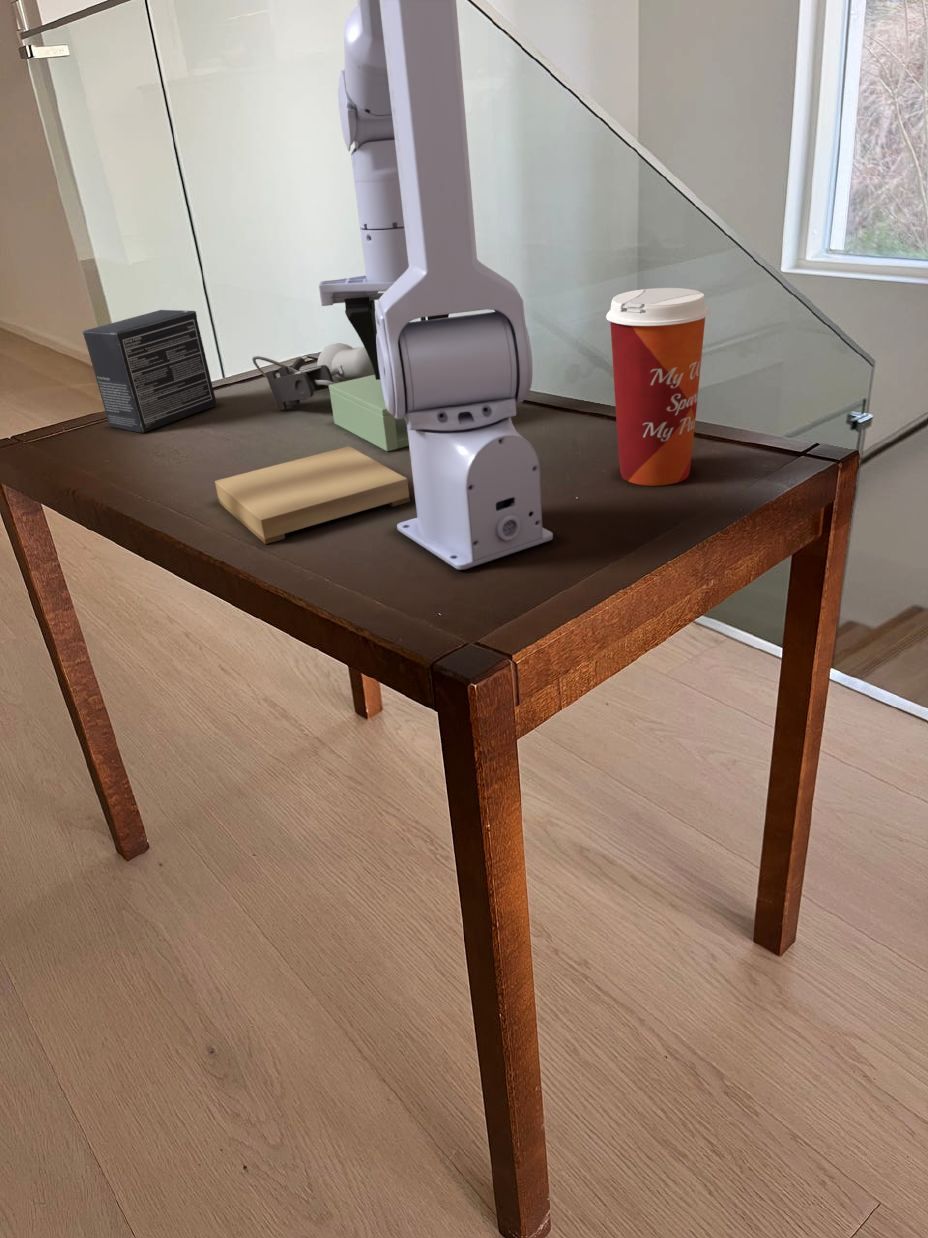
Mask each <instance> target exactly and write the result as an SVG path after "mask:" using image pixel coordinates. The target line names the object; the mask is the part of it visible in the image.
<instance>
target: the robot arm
mask: <svg viewBox="0 0 928 1238" xmlns="http://www.w3.org/2000/svg"><path fill="white" fill-rule="evenodd" d="M357 5H358V6H356V7H354V8H353V10H351V12H350V13H349V14H348V15H347V17H346V20H345V23H344V27H343V56H344V58H343V59H344V69H343V70H340V75H338V76H339V77H338V88H337V102H338V112H339V119H340V120H339V121H340V126H341V132H342V137H343V141H344V144H345V147H346V150H347V152H351V153H350V158H351V166H352V174H353V183H354V190H355V198H356V207H357V214H358V222H359V229H360V239H361V245H362V246H361V247H362V255H363V263H364V270H365V275H360V276H353V277H346V278H345V277H344V278H338V279H331V280H321V281H320V282H319V284H318V290H319V296H320V297H319V298H320V304H321V307H327V306H328V307H329V306H333V305H334V304H344V305H345V306H344V307H345V310H344V313H345V316H346V318H347V320H348V321H349V323H350V324H351V326H352V328H353V329H354V331H355V333H356V334H357V335H358V338H359V339H360V341H361V343H362V345H363V347H365V349H366V351H367V354H368V356H369V359H370V361H371V364H372V367H373V370H374V374H375V378H376V380H381V386H382V391H383V396H384V401H385V405H386V408H387V411H388V412H389V413H390V414H392V415H394V417H395V418H396V419H405V421H406V423H407V431H408V440H409V446H408V447H409V448H408V449H409V456H410V465H411V474H412V483H413V492H414V500H415V509H416V517H413V518H411V519H408V520H404V521H401V522H399V523H397V524H396V530H397V531H398V532H400V533H402V534H403V535H404V536H405V537H407V538H409V539H411V540H412V541H413V542H415V543H416V544H418V545H420V546H421V547H422V548H424V549H426V550H427V551H428V552H430V553H431V554H433V555H434V556H436V557H438V558H439V559H440V560H442V561H444V562H445V563H446V564H448V565H450V566H451V567H453V568H454V569H456V570H458V571H465V570H468V569H471V568H474V567H477V566H479V565H483V564H486V563H488V562H491V561H494V560H497V559H500V558H503V557H506V556H509V555H512V554H515V553H518V552H521V551H523V550H527V549H529V548H532V547H535V546H539V545H542V544H545V543H548V542H550V541H552V540H553V539H554V533H553V532H552V531H550V530H548V529H547V528H544V527H543V511H542V510H543V509H542V490H541V489H542V488H541V468H540V460H539V456H538V454H537V452H536V449H535V448H534V447H533V445H532V444H531V443H530V442H529V441H528V440H527V439H526V438H524V437H523V436H522V435H521V434H520V433H519V432H518V431H517V430H516V427H515V426H514V424H513V420H512V417H516V416H517V406H516V405H517V404H521V403H523V402H524V400H526V397H527V395H528V394H529V393H530V391H531V388H532V385H533V354H532V346H531V341H530V335H529V331H528V328H527V327H528V326H527V324H526V323H527V322H526V317H525V316H526V315H525V307H524V306H525V305H524V299H523V298H522V296H521V294H520V292H519V291H518V289H517V287H516V285H514V284H513V283H512V282H511V281H510V280H508V279H507V278H505V277H503V276H502V275H501V274H499V273H498V272H496V271H494V270H493V269H491V268H489V267H488V266H486V265H485V264H484V263H482V262H481V261H480V260H479V259H478V254H477V242H476V241H477V240H476V230H475V229H476V227H475V217H474V204H473V190H472V181H471V180H472V179H471V168H470V167H471V166H470V155H469V141H468V129H467V119H466V117H467V116H466V107H465V106H466V104H465V93H464V92H465V91H464V82H463V81H464V79H463V70H462V67H463V66H462V56H461V44H460V32H459V31H460V30H459V19H458V8H457V0H357ZM353 144H354V148H353V150H352V151H351V147H352V145H353ZM376 301H377V305H376ZM485 310H486V311H487V310H490V312H482V313H476V314H475V313H473V314H466V315H465V314H464V315H456V316H450V315H453V314H460V313H468V312H469V313H470V312H477V311H485ZM421 318H426V319H425V320H418V321H417V319H421ZM414 320H416V321H414Z"/></svg>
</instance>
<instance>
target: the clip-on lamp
mask: <svg viewBox="0 0 928 1238" xmlns="http://www.w3.org/2000/svg"><path fill="white" fill-rule="evenodd" d="M307 359H308V356H307V355H305V356H302V357H299V358H297V359H296V360H295V361H294V362H293V364H292V365H291V366H289V365H286V364H284V363H282V362H279V361H278V360H277V361H276V360H274V359H271V358H268V357H265V356H261V355H254V356H253V357H252V358H251V360H252V363H253V365H254V366H255V367H256V369H257V370H258V371H259V372H260V374H262V376H264V377H265V378H266V379H267V382H268V384H269V387H270V390H271V394H272V396H273V398H274V401H275V404H276V407H277V409H278V411H280V412H281V411H285V410H287V409H288V404H287V402H289V404H290V406H297V405H300V404H301V401H300V400H303V399H304V400H305V399H310V398H313V396H314V394H318V393H322V392H325V391H330V390H329V385H331V384H336V383H340V382H345V381H349V380H353V379H358V378H362V377H367V376H371V375H375V374H374V370H373V367H372V364H371V361H370V359H369V356H368V354H367V351H366V349H365V347H364V346H360V347H352V346H351V345H349V344H347V343H342V342H336V343H332V344H330V345H327V346H325V347H324V349H323V350H322V351H321V352H320V353H319V356H318V358H317V363H316V366H313V367H309V368H306V369H304V368H302V367H303V366H304V364H305V363H306V360H307ZM256 360H260V361H265V362H266V363H267V362H268V363H269V364H273V365H275V366H277V367H278V369H277V371H278V374H279V377H278V376H277V374H276V372H275V370H269V371H267V372H264V370H263V369H262V368H261V367H260V365H259V364H258V362H257V361H256Z"/></svg>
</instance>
